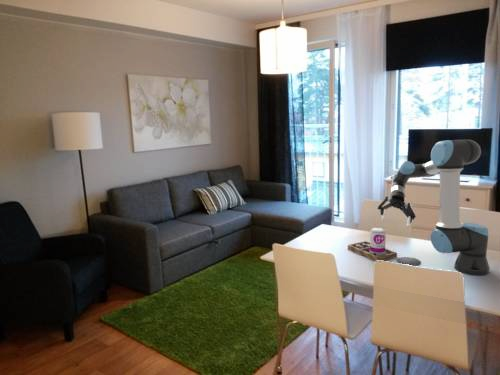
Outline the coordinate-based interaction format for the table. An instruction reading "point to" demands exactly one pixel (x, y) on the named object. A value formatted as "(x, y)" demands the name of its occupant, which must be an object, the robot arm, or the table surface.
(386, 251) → the parts tray
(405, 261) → the coaster
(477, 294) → the table surface
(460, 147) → the robot arm
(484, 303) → the table surface
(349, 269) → the table surface
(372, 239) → the supplement can
